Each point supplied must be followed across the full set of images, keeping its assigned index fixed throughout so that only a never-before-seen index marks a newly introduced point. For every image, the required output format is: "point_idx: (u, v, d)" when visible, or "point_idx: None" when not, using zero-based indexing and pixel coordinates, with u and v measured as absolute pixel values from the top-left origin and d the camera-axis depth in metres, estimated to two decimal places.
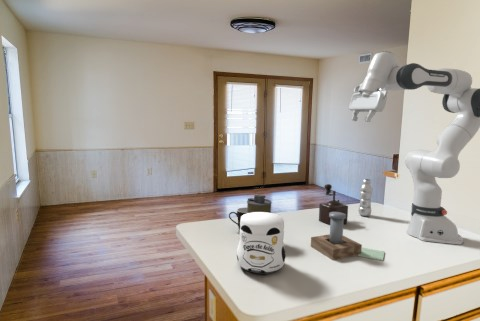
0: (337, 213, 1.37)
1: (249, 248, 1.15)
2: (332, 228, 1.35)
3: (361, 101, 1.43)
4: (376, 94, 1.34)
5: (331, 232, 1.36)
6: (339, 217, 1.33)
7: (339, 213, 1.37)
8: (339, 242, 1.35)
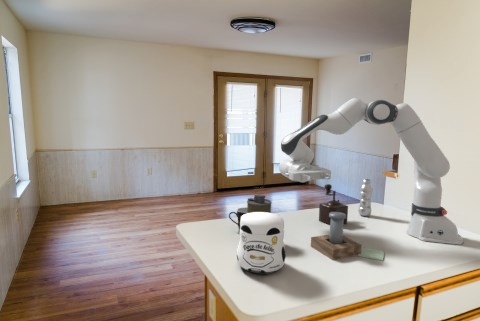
0: (337, 213, 1.37)
1: (249, 248, 1.15)
2: (332, 228, 1.35)
3: None
4: None
5: (331, 232, 1.36)
6: (339, 217, 1.33)
7: (339, 213, 1.37)
8: (339, 242, 1.35)
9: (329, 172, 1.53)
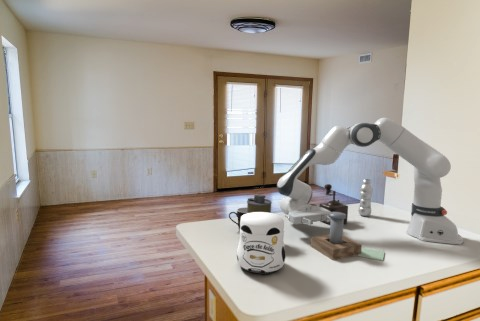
0: (337, 213, 1.37)
1: (249, 248, 1.15)
2: (332, 228, 1.35)
3: None
4: None
5: (331, 232, 1.36)
6: (339, 217, 1.33)
7: (339, 213, 1.37)
8: (339, 242, 1.35)
9: None
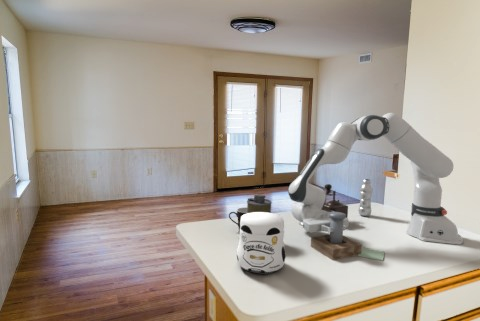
0: (337, 213, 1.37)
1: (249, 248, 1.15)
2: None
3: None
4: None
5: (331, 232, 1.36)
6: (339, 217, 1.33)
7: (339, 213, 1.37)
8: (339, 242, 1.35)
9: (346, 221, 1.43)
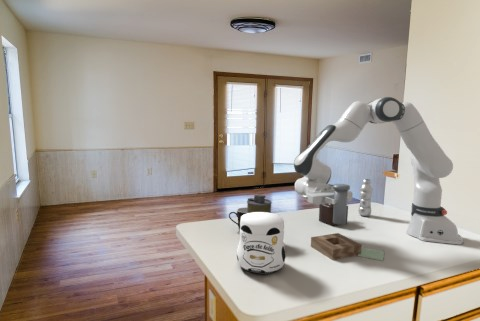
0: (341, 185, 1.35)
1: (249, 248, 1.15)
2: (336, 199, 1.33)
3: None
4: None
5: (335, 204, 1.34)
6: (343, 188, 1.31)
7: (343, 185, 1.35)
8: (343, 214, 1.33)
9: (350, 194, 1.42)
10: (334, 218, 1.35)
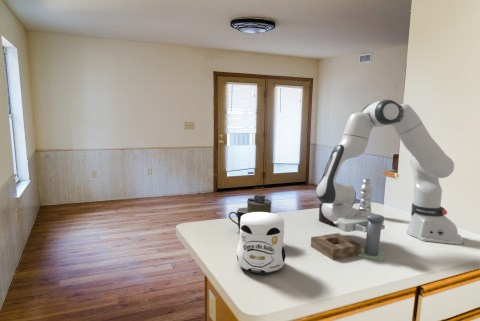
0: (375, 215, 1.33)
1: (249, 248, 1.15)
2: (370, 230, 1.32)
3: None
4: None
5: (368, 234, 1.33)
6: (378, 219, 1.29)
7: (377, 215, 1.33)
8: (376, 245, 1.32)
9: None
10: (367, 249, 1.33)
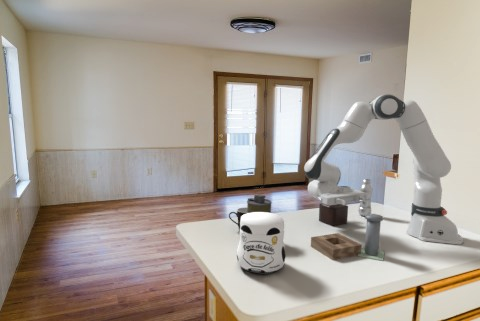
0: (373, 215, 1.34)
1: (249, 248, 1.15)
2: (369, 230, 1.32)
3: None
4: None
5: (368, 234, 1.33)
6: (376, 219, 1.30)
7: (375, 215, 1.34)
8: (376, 245, 1.32)
9: (362, 194, 1.51)
10: (366, 249, 1.33)
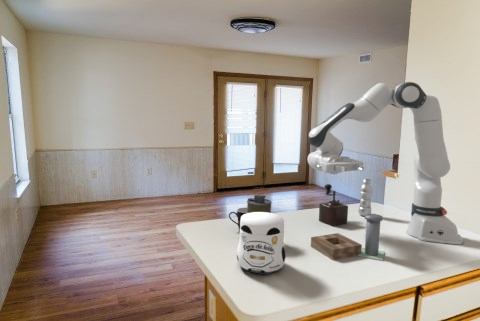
0: (373, 215, 1.33)
1: (249, 248, 1.15)
2: (369, 230, 1.32)
3: None
4: None
5: (367, 235, 1.33)
6: (376, 219, 1.30)
7: (375, 215, 1.34)
8: (376, 245, 1.32)
9: (361, 163, 1.50)
10: (366, 249, 1.33)
